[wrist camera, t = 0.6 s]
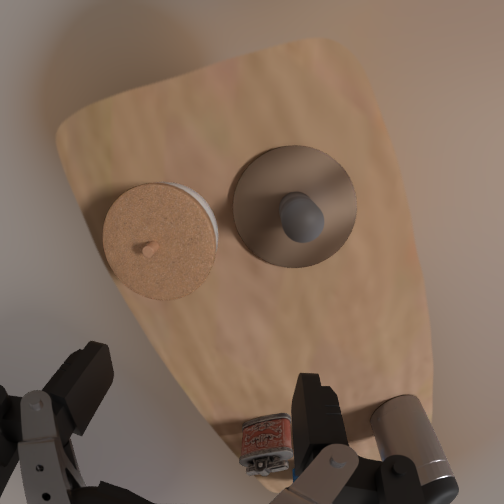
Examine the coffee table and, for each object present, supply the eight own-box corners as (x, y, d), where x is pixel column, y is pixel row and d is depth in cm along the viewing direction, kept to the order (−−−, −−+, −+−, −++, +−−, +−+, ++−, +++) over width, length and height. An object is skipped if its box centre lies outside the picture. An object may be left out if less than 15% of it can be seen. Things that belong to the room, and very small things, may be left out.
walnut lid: (376, 207, 31) (402, 222, 25) (294, 286, 35) (300, 317, 28) (293, 120, 29) (301, 111, 22) (209, 209, 32) (194, 225, 26)
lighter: (248, 433, 44) (244, 482, 34) (238, 422, 43) (233, 472, 33) (294, 421, 42) (297, 472, 33) (286, 409, 41) (288, 462, 32)
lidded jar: (246, 216, 32) (239, 242, 23) (190, 287, 35) (167, 330, 26) (167, 155, 30) (130, 159, 21) (118, 232, 33) (76, 260, 24)
